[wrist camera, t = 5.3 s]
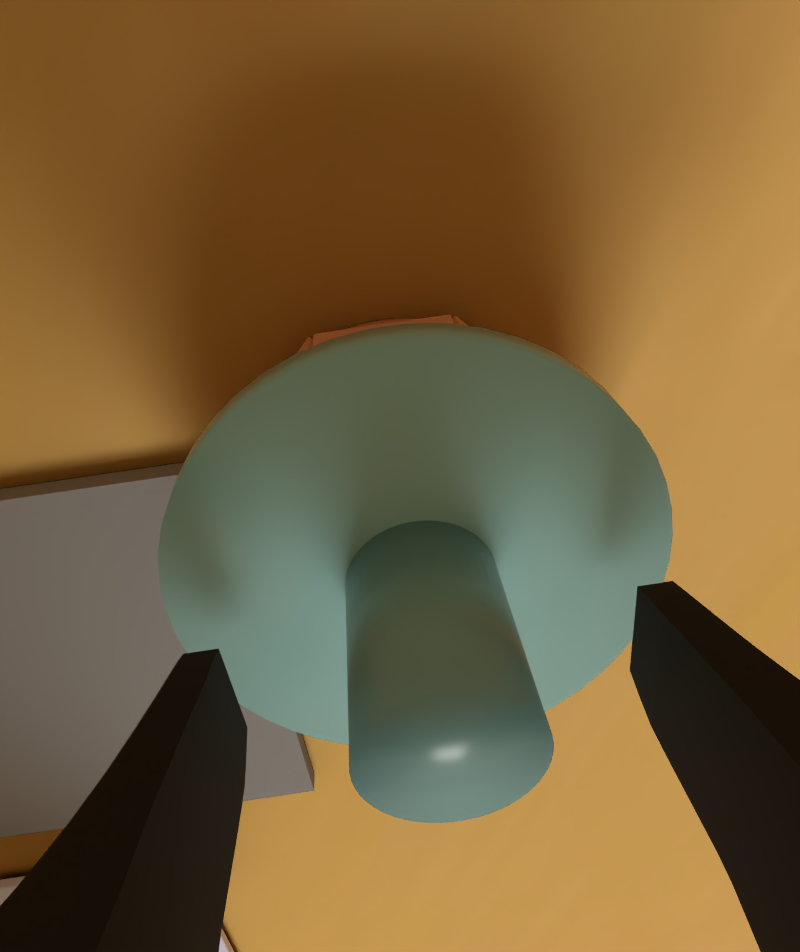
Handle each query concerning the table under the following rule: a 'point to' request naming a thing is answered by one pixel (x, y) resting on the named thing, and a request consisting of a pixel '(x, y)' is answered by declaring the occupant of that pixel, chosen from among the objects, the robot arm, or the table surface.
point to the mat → (93, 645)
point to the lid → (417, 554)
